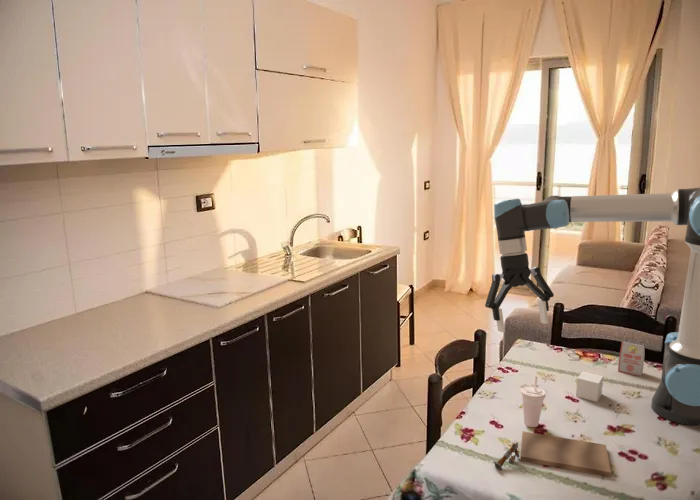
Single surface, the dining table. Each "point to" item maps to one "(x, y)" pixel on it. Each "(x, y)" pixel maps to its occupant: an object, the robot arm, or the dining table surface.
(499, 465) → the wooden post with brackets
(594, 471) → the walnut board
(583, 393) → the off-white cube
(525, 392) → the smoothie
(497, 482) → the dining table surface
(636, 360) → the small printed carton
